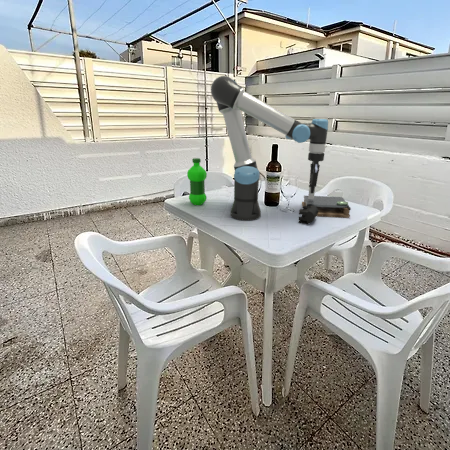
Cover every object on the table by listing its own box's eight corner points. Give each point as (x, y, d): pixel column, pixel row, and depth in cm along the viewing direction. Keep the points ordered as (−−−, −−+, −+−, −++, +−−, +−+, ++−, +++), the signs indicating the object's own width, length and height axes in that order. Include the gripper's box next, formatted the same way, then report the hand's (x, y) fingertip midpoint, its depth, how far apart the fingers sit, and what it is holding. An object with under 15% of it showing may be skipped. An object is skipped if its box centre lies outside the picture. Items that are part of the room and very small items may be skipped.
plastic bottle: (198, 208, 158) (196, 161, 149) (184, 204, 165) (182, 158, 155) (210, 203, 165) (210, 158, 156) (197, 200, 172) (196, 156, 162)
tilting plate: (306, 206, 147) (307, 201, 146) (303, 197, 162) (304, 192, 161) (348, 207, 144) (349, 202, 143) (341, 198, 159) (342, 194, 158)
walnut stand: (305, 215, 147) (306, 205, 145) (301, 204, 165) (302, 195, 163) (349, 218, 144) (351, 207, 142) (341, 206, 162) (342, 196, 160)
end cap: (313, 225, 135) (315, 211, 132) (297, 223, 138) (299, 209, 135) (317, 219, 143) (319, 205, 140) (302, 216, 146) (304, 203, 143)
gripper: (326, 154, 138) (320, 202, 147) (322, 150, 150) (316, 195, 159) (310, 153, 139) (304, 201, 148) (307, 150, 151) (302, 194, 160)
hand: (310, 198), depth 153 cm, fingers closed
